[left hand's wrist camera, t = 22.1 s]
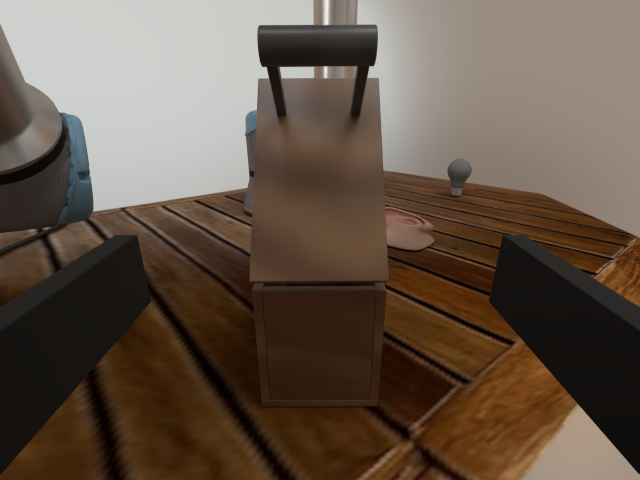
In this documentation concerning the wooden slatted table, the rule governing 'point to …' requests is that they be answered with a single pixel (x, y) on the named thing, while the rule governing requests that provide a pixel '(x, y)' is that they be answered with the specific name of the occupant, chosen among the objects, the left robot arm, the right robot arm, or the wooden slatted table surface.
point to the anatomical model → (407, 230)
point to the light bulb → (458, 175)
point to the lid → (318, 160)
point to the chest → (319, 343)
